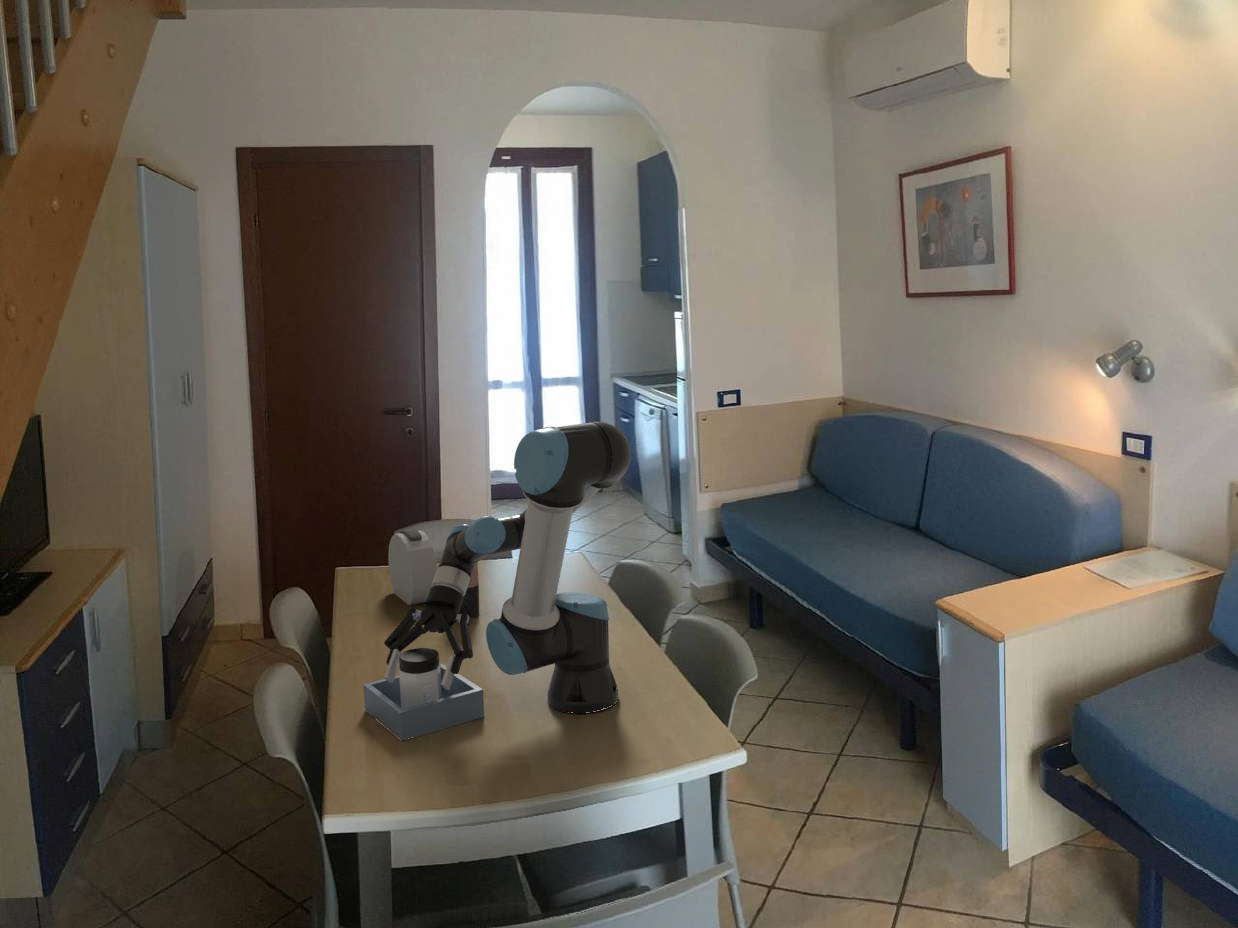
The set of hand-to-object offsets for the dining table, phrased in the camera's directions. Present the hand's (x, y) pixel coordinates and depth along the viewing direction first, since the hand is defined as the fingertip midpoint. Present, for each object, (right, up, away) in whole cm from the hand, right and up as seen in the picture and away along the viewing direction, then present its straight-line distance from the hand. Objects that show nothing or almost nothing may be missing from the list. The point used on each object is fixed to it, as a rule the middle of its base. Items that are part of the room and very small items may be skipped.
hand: (416, 684), depth 211 cm
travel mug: (0, +4, +66) cm, 67 cm away
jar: (+1, -6, +4) cm, 7 cm away
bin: (+1, -7, +4) cm, 8 cm away
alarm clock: (-17, +7, +83) cm, 85 cm away
